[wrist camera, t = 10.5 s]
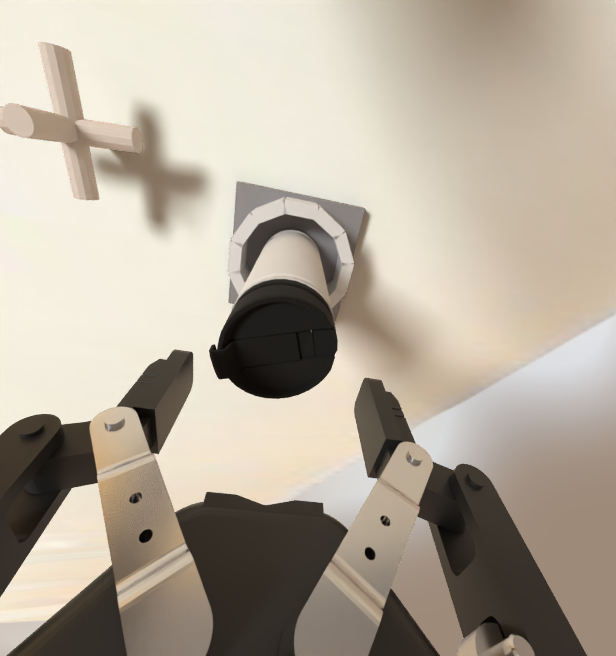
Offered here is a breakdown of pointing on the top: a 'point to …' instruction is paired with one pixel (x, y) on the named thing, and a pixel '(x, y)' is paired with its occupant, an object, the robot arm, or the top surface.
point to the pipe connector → (68, 123)
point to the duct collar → (299, 213)
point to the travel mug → (279, 322)
